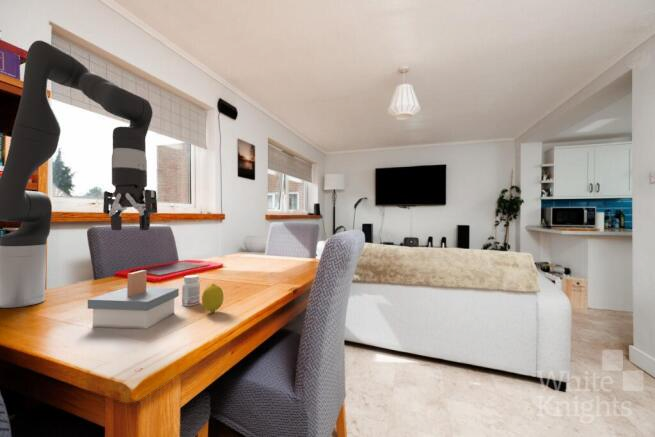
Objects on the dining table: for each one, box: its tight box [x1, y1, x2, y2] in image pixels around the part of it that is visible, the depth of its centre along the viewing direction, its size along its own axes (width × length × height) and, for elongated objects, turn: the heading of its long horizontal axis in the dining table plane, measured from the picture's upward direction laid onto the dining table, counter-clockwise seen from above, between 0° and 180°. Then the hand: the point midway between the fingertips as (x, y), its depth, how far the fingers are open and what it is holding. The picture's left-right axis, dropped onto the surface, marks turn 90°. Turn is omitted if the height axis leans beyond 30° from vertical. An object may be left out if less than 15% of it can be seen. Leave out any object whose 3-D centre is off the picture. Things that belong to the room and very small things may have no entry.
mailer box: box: [92, 298, 175, 330], centre depth 71 cm, size 13×11×6 cm
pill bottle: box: [181, 274, 201, 307], centre depth 84 cm, size 5×5×8 cm
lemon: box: [201, 283, 224, 313], centre depth 77 cm, size 6×6×8 cm
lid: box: [87, 269, 180, 311], centre depth 71 cm, size 14×12×8 cm
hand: (130, 230), depth 73 cm, fingers open, 8 cm apart
